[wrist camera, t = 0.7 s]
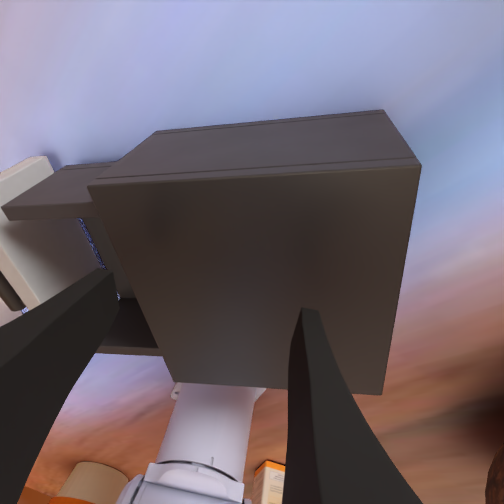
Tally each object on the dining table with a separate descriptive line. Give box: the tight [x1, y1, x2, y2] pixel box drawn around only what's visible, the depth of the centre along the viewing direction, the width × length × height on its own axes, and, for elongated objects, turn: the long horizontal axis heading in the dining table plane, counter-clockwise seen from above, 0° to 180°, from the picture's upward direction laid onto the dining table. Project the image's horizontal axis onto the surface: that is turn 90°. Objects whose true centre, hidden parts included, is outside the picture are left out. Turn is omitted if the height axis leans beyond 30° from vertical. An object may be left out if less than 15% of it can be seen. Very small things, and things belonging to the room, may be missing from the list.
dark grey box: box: [87, 110, 422, 395], centre depth 19 cm, size 12×13×7 cm
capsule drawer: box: [0, 156, 162, 356], centre depth 21 cm, size 16×12×6 cm
